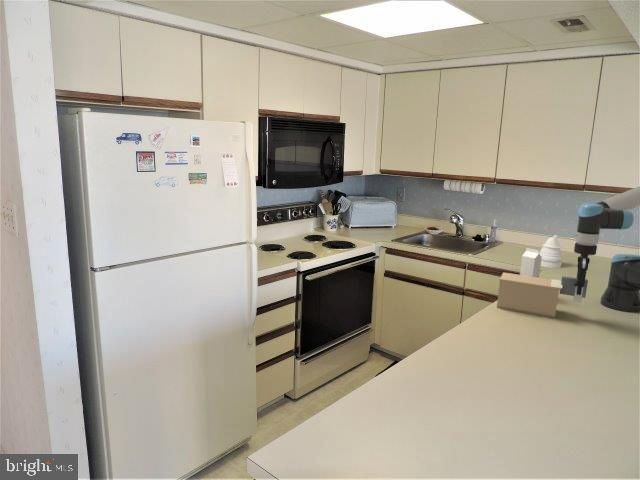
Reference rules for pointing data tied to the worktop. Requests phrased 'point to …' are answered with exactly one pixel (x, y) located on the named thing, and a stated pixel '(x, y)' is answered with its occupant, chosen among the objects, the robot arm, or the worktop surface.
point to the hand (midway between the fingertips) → (577, 300)
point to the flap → (546, 283)
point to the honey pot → (551, 253)
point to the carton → (527, 298)
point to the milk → (531, 263)
